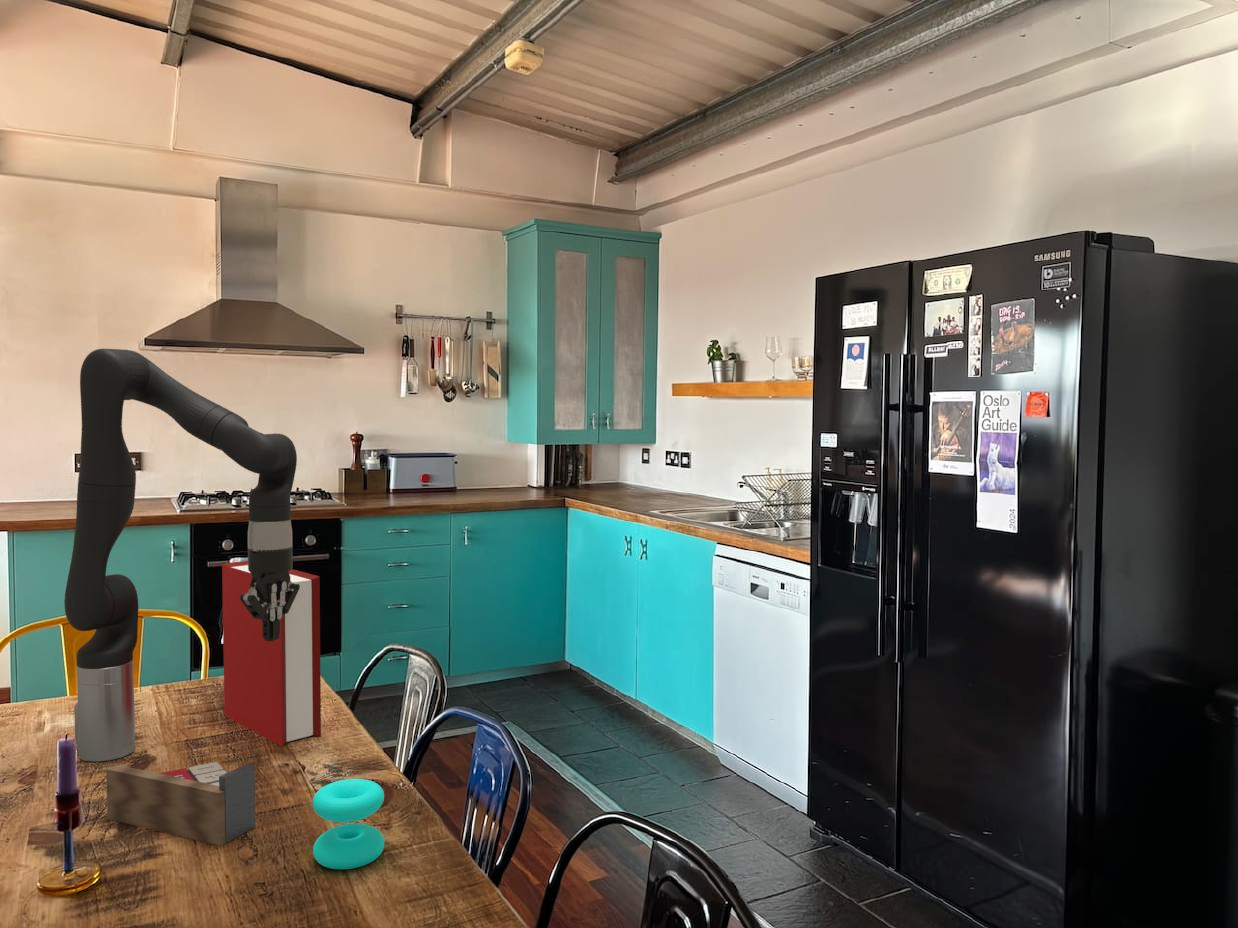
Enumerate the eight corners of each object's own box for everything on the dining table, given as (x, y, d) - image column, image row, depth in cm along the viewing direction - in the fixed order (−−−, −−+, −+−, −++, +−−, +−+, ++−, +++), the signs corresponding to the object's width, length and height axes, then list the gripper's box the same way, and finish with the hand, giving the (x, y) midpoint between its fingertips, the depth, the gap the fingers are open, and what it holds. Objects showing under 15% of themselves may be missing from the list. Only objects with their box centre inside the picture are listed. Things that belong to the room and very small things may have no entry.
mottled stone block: (107, 818, 148) (105, 768, 148) (144, 801, 155) (143, 753, 154) (220, 845, 139) (219, 793, 139) (255, 826, 146) (254, 776, 145)
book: (321, 736, 186) (319, 576, 184) (282, 747, 180) (280, 581, 178) (258, 705, 205) (256, 559, 203) (221, 713, 199) (219, 563, 197)
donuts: (347, 809, 129) (297, 793, 134) (348, 879, 130) (298, 861, 135) (398, 784, 138) (349, 770, 143) (399, 850, 139) (350, 834, 144)
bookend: (220, 841, 141) (218, 776, 140) (249, 825, 146) (248, 762, 146) (226, 843, 140) (225, 777, 140) (255, 826, 146) (254, 763, 145)
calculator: (219, 758, 165) (241, 782, 153) (220, 783, 165) (242, 809, 153) (150, 772, 159) (167, 798, 146) (151, 797, 159) (168, 825, 146)
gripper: (279, 539, 176) (280, 630, 177) (226, 548, 164) (227, 646, 165) (312, 541, 173) (312, 634, 175) (259, 551, 161) (260, 651, 162)
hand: (271, 640), depth 170 cm, fingers closed
